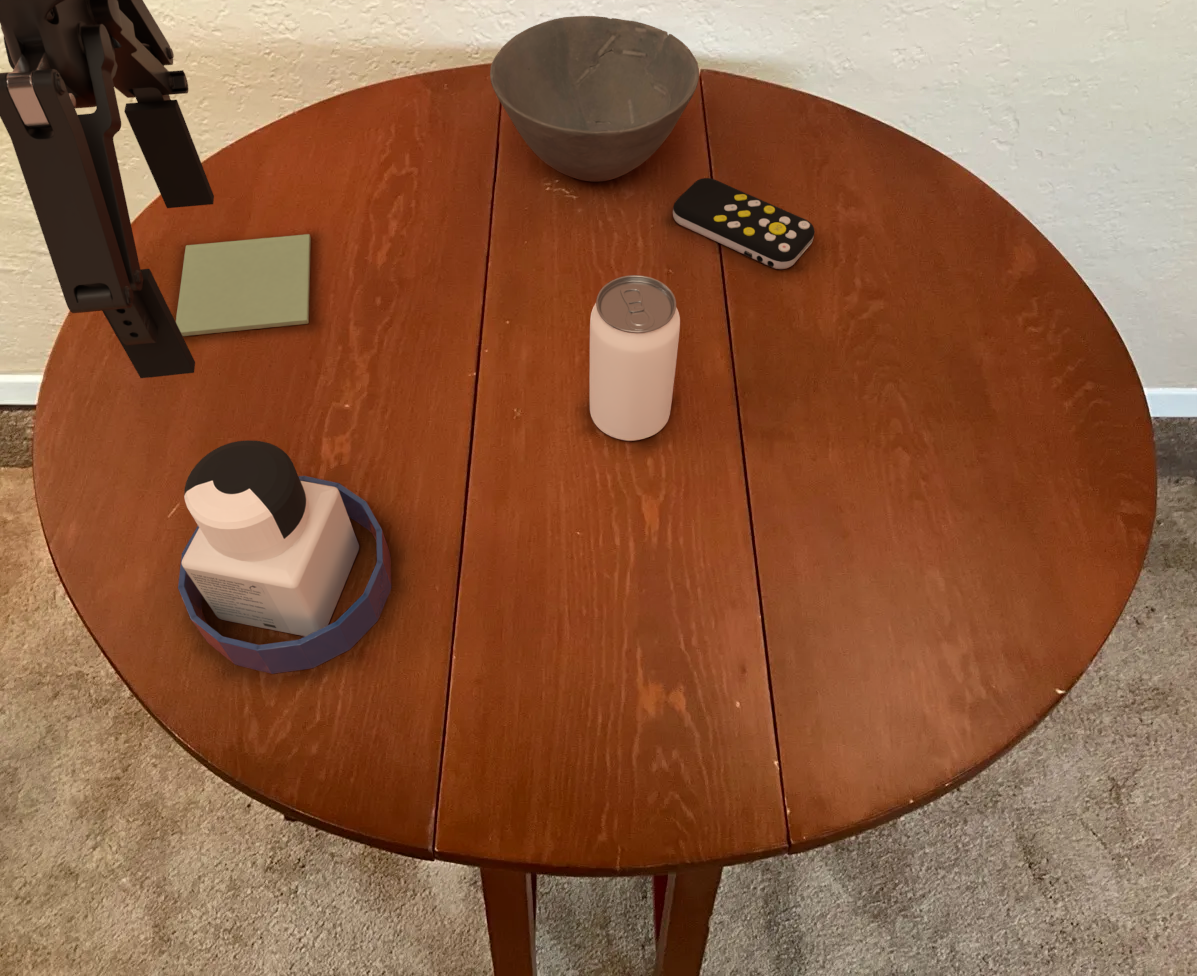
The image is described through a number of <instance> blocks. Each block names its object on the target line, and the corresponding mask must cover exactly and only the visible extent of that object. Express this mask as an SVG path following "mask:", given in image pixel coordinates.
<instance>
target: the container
mask: <svg viewBox="0 0 1197 976" xmlns="http://www.w3.org/2000/svg"><path fill="white" fill-rule="evenodd" d="M299 476H300V475H299V474H298V471H297V469H296V467H295V465H294V462H293V461H292V459H291V456H289V455H288V454H287V453H286V451H284V450H283V449H282V448H280V447H279V446H277V445H275V444H272V443H270V442H267V441H262V440H254V439H253V440H251V439H249V440H248V439H247V440H238V441H232V442H229V443H225V444H223V445H221V446H218V447H216V448H215V449H213V450H211V451H210V452H208V453H207V454H206V455H204V456H203V457H202V458H201V459H200V460H199V461H198V462H197V463H196V465H194V467H193V468H192V469H191V471H190V473H189V474H188V476H187V479H186V482H185V483H184V484H185V485H184V489H183V491H184V492H183V497H184V502H185V506H186V508H187V510H188V512H189V513H190V515H191V517H192V518H193V520H194V521H195V523H196V524H197V526H199V529H198V531H197V533H196V535H195V536H194V538H193V540H192V542H191V544H190V546H189V548H188V550H187V552H186V554H185V555H184V557H183V559H182V566H183V568H184V569H185V571H186V572H187V573H188V575H189V576H190V578H191V579H192V581H193V582H194V584H195V585H196V587H197V588H198V590H199V591H200V593H201V594H202V596H203V599H204V600H205V602H206V603H207V605H208V606H209V607H210V609H211V611H212V612H213V614H214V615H215V616H216V617H217V619H219V620H221V621H225V622H230V623H235V624H240V625H245V626H251V627H256V628H261V629H265V630H271V631H276V632H281V633H285V634H290V635H294V636H295V635H296V636H301V637H305V636H307V635H309V634H311V633H313V632H315V631H318V630H320V629H322V628H324V627H326V626H328V625H330V624H329V623H330V621H331V619H332V617H333V614H334V612H335V609H336V607H337V605H338V602H339V600H340V598H341V595H342V593H343V590H344V587H345V585H346V582H347V580H348V578H349V575H350V572H351V570H352V568H353V565H354V563H355V560H356V558H357V556H358V554H359V551H360V544H359V541H358V539H357V536H356V533H355V530H354V528H353V525H352V522H351V520H350V517H349V516H348V514H347V511H346V509H345V506H344V503H343V501H342V498H341V495H340V492H339V490H338V489H337V488H336V487H333V486H327V485H322V484H316V483H311V482H305V481H300V479H299Z"/></svg>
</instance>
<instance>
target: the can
mask: <svg viewBox="0 0 1197 976" xmlns="http://www.w3.org/2000/svg"><path fill="white" fill-rule="evenodd" d="M680 316H681V315H680V312H679V309H678V308H677V300H676V297H675V294H674V293H673V291H672V290H671V288H669V287H668V286H667V285H666V284H665V283H663V282H662V281H660V280H658V279H656V278H653V277H650V276H646V275H639V274H629V275H624V276H623V275H622V276H620V277H617V278H614V279H612V280H610V281H609V282H607V283H606V284H604V285H603V286H602V288H601V289H600V290H599V292H598V294H597V296H596V300H595V303H594V305H593V307H592V309H591V313H590V321H589V413H590V417H591V420H592V422H593V423H594V425H595V426H596V428H598V429H599V430H600V431H601V432H603V434H606V435H607V436H609V437H611V438H614V439H618V440H621V441H627V442H632V441H640V440H644V439H647V438H649V437H652V436H654V435H656V434H657V433H659V432H660V431H661V430H662V429H663V428H664V427H665V426H666V425H667V423H668V422H669V419H670V416H671V409H672V401H673V393H674V385H675V377H676V368H677V359H678V350H679V341H680V330H681V317H680Z"/></svg>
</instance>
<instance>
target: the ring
mask: <svg viewBox="0 0 1197 976" xmlns="http://www.w3.org/2000/svg"><path fill="white" fill-rule="evenodd" d="M298 476H299V479H300V481H305V482H311V483H316V484H322V485H327V486H333V487H336V488H337V489H338V490H339V492H340V495H341V498H342V501H343V503H344V506H345V509H346V511H347V514H348V517H349V519H351V520H353V521H354V522H356V523H357V524H359V525H360V526H362V527H363V528H364V529H366V530H367V531H369V532H370V533H371V535H372V536H373V539H374V540H375V543H376V564H375V565H374V568H373V571H372V572H371V574H370V577H369V580H368V581H367V584H366V586H365V588H364V591H363V593H362V595H360V596H359V597H358V598H357V599H356V601H354V602H353V603H352V605H350V606H349V607H348V608H347V610H346V611H344V613H342V614H341V616H339V617H338V618H337V619H336V621H334V622H332V623H330V624H328V626H326V627H324V628H322V629H320V630H318V631H315V632H313V633H311V634H309V635H307V636H302V637H301V638H299V639H293V640H286V641H279V642H278V641H277V642H271V643H264V644H256V643H252V642H247V641H244V640H240V639H236V638H231V637H228V636H223V635H222V634H220V633H219V632H218V631H217V630H216V629H214V628H213V627H211V626H210V625H209V624H208V623H207V620H206V618H205V616H204V613H203V602H204V601H203V600H204V597H203V596H202V594H201V593H200V591H199V590H198V588H197V587H196V585H195V584H194V582H193V581H192V579H191V578H190V576H189V575H188V573H187V572H186V571H185V569H184V568H183V566H182V559H183V557H184V555H185V554H186V552H187V550H188V548H189V546H190V544H191V542H192V540H193V538H194V536H195V535H196V533H197V531H198V529H199V526H198V525H197V526H196V528H195V530H194V531H193V533H192V535H191V536H190V538H189V540H188V541H187V544H186V545H185V547H184V549H183V550H182V552H181V557H180V565H179V575H178V584H177V589H178V591H179V594H180V597H181V599H182V602H183V604H184V606H185V609H186V611H187V614H188V616H189V619H190V620H191V622H192V623H193V624H194V626H195V627H196V629H197V630H198V632H199V633H200V635H202V637H203V638H204V640H205V641H206V642H207V644H209V645H210V646H211V647H212V648H213V649H215V650H216V651H217V652H219V653H220V654H221V655H222V656H223V657H225V658H226V659H227V660H228V661H230V663H232V664H233V665H235V666H239V667H242V668H247V669H251V670H255V671H259V672H264V673H268V674H272V675H273V674H280V673H287V672H295V671H303V670H310V669H314V668H316V667H318V666H320V665H322V664H324V663H327V662H328V661H331V660H332V659H334V658H336V657H338V656H340V655H342V654H344V653H347V652H348V651H350V650H351V649H352V648H353V647H354V646H355V645H356V644H357V643H358V642H359V641H360V640H361V639H362V638H363V637H364V636H365V635H366V634H367V633H368V632H369V631H370V630H371V628H373V626H374V625H375V624H377V622H378V621H379V619H380V617H381V614H382V612H383V610H384V607H385V605H386V602H387V600H388V597H389V595H390V593H391V591H392V588H393V587H392V561H391V560H392V559H391V553H390V550H389V547H388V543H387V540H386V537H385V534H384V531H383V528H382V527H381V525H380V523H379V521H378V520H377V518H376V516H375V514H374V513H373V511H372V509H371V507H370V505H369V504H368V501H366V500H365V499H363V498H362V497H361V496H359V495H357V494H356V493H354V492H353V491H352V490H350V489H349V488H347V487H345V485H343V484H341V483H340V482H335V481H331V480H327V479H322V478H317V477H312V476H307V475H298Z"/></svg>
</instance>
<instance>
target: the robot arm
mask: <svg viewBox="0 0 1197 976" xmlns="http://www.w3.org/2000/svg"><path fill="white" fill-rule="evenodd" d="M0 29H1V32H2V35H3V42H4V48H5V52H6V57H7V61H8V63H9V66H10V68H11V69H12V71H11V72H10V71H9V72H0V119H1V120H0V121H2V124H3V125H4V128H5V129H6V131H7V134H8V135H9V138H10V139H11V140H10V141H11V143H12V146H13V149H14V152H15V156H16V158H17V161H18V164H19V167H20V170H21V174H22V176H23V179H24V182H25V184H26V188H27V191H28V194H29V197H30V200H31V203H32V206H33V209H34V211H35V215H36V218H37V221H38V224H39V227H40V229H41V232H42V235H43V238H44V241H45V245H46V247H47V251H48V252H49V257H50V259H51V262H52V265H53V268H54V271H55V274H56V277H57V280H58V283H59V286H60V289H61V292H62V296H63V298H64V301H65V304H66V307H67V308H68V310H69V312H70V313H72V314H83V313H92V312H100V311H101V312H102V313H103V315H104V317H105V319H106V320H107V322H108V324H109V325H110V327H111V329H112V331H113V333H114V334H115V336H116V338H117V340H118V341H119V343H120V345H121V346H122V348H123V351H124V352H125V354H126V355H127V357H128V359H129V361H130V363H131V364H132V366H133V368H134V370H135V371H136V373H137V375H138V376H139V378H140V379H149V378H157V377H167V376H176V375H177V376H178V375H187V374H194V373H195V369H196V360H195V358H194V356H193V355H192V352H191V350H190V348H189V346H188V344H187V342H186V339H185V338H184V336H182V334H181V332H180V330H179V328H178V326H177V324H176V319H175V317H174V316H173V314H172V311H171V310H170V307H169V306H168V304H167V301H166V299H165V297H164V295H163V293H162V291H161V289H160V287H159V285H158V282H157V281H156V279H155V277H154V274H153V273H152V271H151V269H150V268H141V265H140V260H139V256H138V251H137V246H136V241H135V237H134V232H133V228H132V227H133V226H132V223H131V218H130V213H129V209H128V203H127V199H126V195H125V189H124V185H123V180H122V174H121V170H120V165H119V161H118V156H117V151H116V147H115V141H114V137H115V135H116V134H118V133H119V132H120V131H121V128H122V118H121V114H120V109H119V103H118V99H117V94H116V90H117V91H118V92H120V93H121V94H122V95H123V96H125V97H126V98H127V99H133V98H134V99H135V100H136V102H128V103H125V106H124V114H125V117H126V119H127V121H128V123H129V125H130V127H131V130H132V133H133V136H134V137H135V139H136V142H137V143H138V146H139V149H140V151H141V154H142V155H143V157H144V160H145V161H146V164H147V166H148V169H149V171H150V173H151V175H152V178H153V180H154V183H155V185H156V187H157V190H158V192H159V193H160V197H161V199H162V200H163V201H162V202H163V203H164V206H165V208H166V209H174V208H187V207H198V206H199V207H200V206H208V205H209V206H210V205H214V202H215V195H214V192H213V190H212V187H211V184H210V182H209V180H208V177H207V174H206V171H205V169H204V167H203V164H202V161H201V159H200V156H199V153H198V151H197V149H196V148H197V147H196V145H195V142H194V140H193V137H192V136H191V133H190V130H189V128H188V124H187V123H186V120H185V117H184V115H183V112H182V109H181V106H180V104H179V102H178V99H171V97H170V96H171V95H172V96H173V95H183V94H188V93H189V82H188V77H187V75H186V73H185V71H184V70H182V69H181V70H170V71H169V70H168V69H167V68H166V67H165V66H173V65H174V57H175V55H174V50H173V49H172V48H171V46H170V43H169V42H168V39H167V38H166V36H165V35H164V33H163V31H162V30H161V28H160V27H159V25H158V23H157V21H156V20H155V18H154V16H153V15H152V13H151V12H150V10H149V8H148V7H147V5H146V3H145V2H144V0H0ZM115 89H116V90H115ZM95 107H96V109H95V110H94V112H91V113H83V114H78V113H77V110H76V109H86V108H95Z"/></svg>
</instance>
